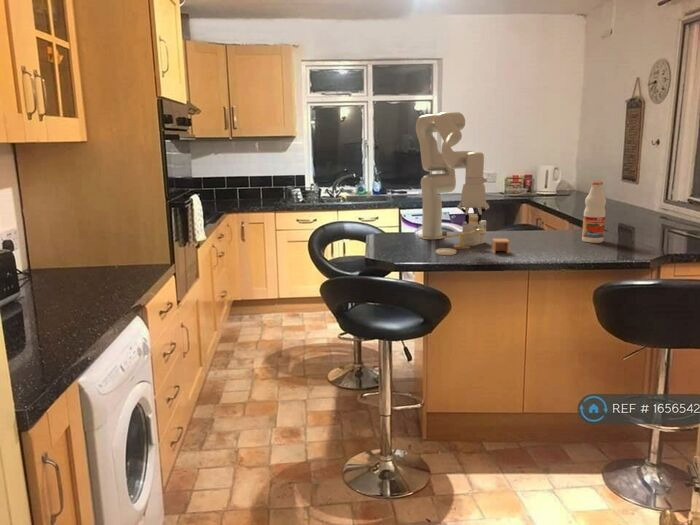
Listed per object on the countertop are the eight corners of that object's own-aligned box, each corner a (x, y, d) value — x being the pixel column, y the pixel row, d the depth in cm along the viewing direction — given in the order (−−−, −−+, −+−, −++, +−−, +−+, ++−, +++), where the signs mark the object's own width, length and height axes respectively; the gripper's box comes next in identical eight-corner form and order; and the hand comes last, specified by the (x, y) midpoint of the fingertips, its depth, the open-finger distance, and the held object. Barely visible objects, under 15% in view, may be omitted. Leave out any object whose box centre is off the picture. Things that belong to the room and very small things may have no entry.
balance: (438, 246, 270) (439, 228, 268) (482, 246, 268) (483, 228, 266) (439, 249, 265) (440, 230, 263) (484, 248, 263) (485, 230, 261)
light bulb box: (474, 240, 282) (475, 218, 279) (486, 242, 277) (487, 220, 274) (461, 244, 274) (462, 221, 272) (473, 246, 270) (474, 223, 267)
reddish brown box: (491, 250, 260) (492, 238, 259) (506, 250, 259) (506, 238, 258) (494, 253, 254) (494, 241, 252) (508, 253, 253) (509, 241, 252)
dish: (435, 250, 261) (435, 248, 261) (455, 250, 260) (455, 248, 260) (436, 255, 252) (436, 252, 252) (457, 255, 252) (457, 252, 251)
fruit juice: (597, 239, 280) (602, 180, 273) (606, 242, 271) (611, 182, 264) (578, 239, 280) (582, 181, 273) (586, 243, 271) (591, 183, 264)
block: (467, 222, 258) (467, 214, 256) (476, 222, 257) (477, 214, 256) (468, 225, 254) (468, 217, 252) (477, 225, 254) (478, 217, 252)
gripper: (492, 180, 253) (490, 221, 258) (453, 180, 254) (452, 221, 259) (495, 182, 246) (493, 224, 250) (455, 182, 247) (454, 224, 251)
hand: (472, 222), depth 254 cm, fingers closed on block, 4 cm apart
